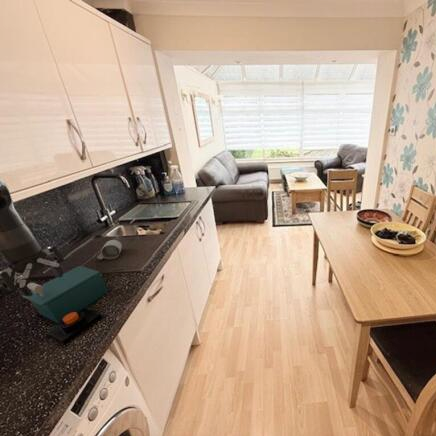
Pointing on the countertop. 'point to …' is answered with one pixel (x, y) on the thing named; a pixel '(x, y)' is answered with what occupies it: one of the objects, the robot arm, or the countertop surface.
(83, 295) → the bin
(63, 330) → the panel
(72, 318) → the button
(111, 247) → the ceramic mug
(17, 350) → the countertop surface
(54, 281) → the bin lid
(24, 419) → the countertop surface
